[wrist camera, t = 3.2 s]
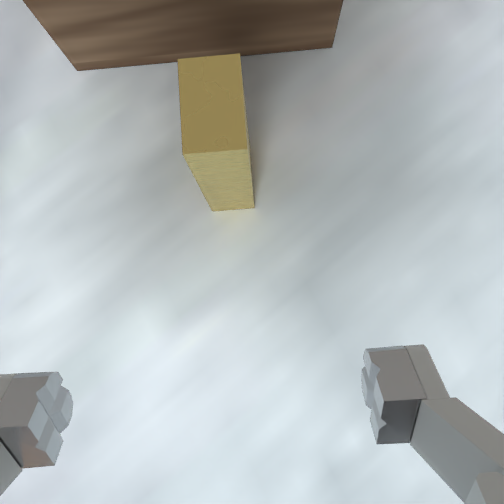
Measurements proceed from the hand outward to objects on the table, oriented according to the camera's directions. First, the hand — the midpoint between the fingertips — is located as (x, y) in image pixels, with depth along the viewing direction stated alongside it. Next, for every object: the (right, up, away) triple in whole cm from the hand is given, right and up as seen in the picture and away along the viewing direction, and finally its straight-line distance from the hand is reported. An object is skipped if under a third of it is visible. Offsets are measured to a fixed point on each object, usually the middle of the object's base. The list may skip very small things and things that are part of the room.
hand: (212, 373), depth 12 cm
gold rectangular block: (0, +8, +14) cm, 16 cm away
